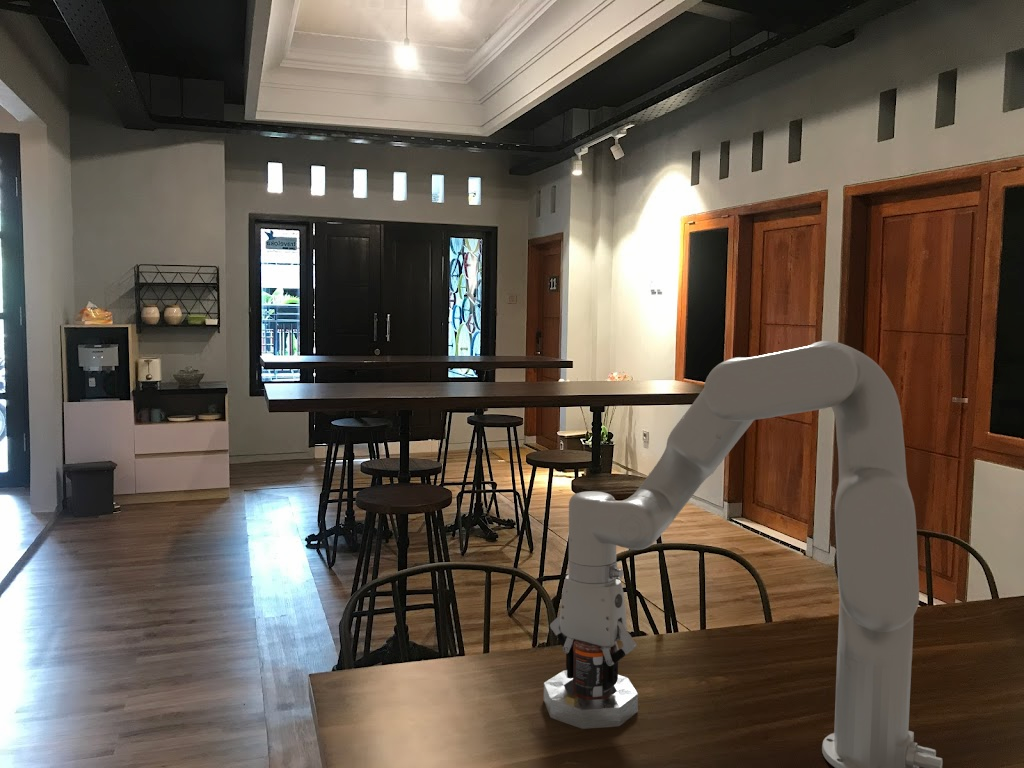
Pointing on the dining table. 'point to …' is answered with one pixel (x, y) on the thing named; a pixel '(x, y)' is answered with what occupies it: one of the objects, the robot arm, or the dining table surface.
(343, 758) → the dining table surface
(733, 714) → the dining table surface
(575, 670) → the supplement bottle
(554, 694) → the grey octagonal ring
